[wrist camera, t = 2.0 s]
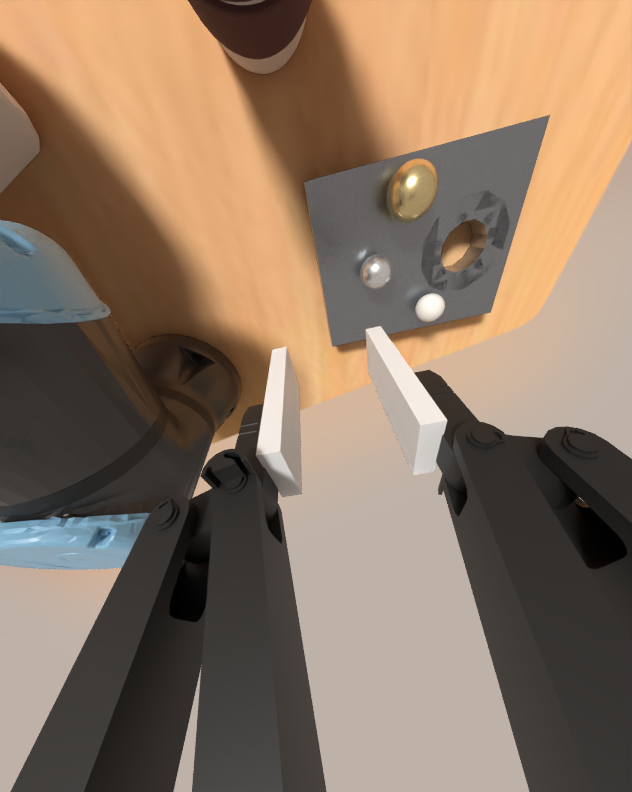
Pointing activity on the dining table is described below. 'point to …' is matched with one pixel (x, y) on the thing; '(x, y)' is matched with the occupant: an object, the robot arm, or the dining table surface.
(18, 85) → the dining table surface
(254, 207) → the dining table surface
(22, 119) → the blue grey rounded piece
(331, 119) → the dining table surface
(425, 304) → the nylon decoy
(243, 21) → the coffee cup
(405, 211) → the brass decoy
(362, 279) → the steel ball
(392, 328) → the plate
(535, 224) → the dining table surface
